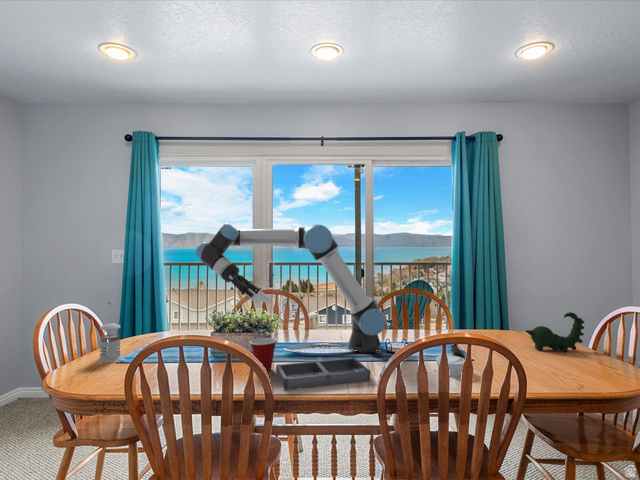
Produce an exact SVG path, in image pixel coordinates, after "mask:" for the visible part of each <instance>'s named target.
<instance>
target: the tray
mask: <svg viewBox="0 0 640 480" xmlns="http://www.w3.org/2000/svg"><path fill="white" fill-rule="evenodd" d="M275 366H276V368H275V369H276V370H275V372H276V376H277V378H278V380H279V382H281V383H280V384H282V385H281V387H282V386H283V387H282V389H283V388H284V389H283V390H284V391H289V390H288V389H293V390H298V389H297V388H302V389H311V388H318V387H320V386H321V387H329V386H336V385H337V386H339V385H346V384H355V383H356V384H357V383H364V382H365V383H366V382H367V383H368V382H371V370H370V369H368V367H366V366H365V365H364V364H362V363H361V361H359V360H358V359H357V358H356V357H348V358H337V359H335V358H334V359H326V360H325V359H324V360H316V361H314V360H313V361H302V362H301V361H300V362H293V363H292V362H291V363H290V362H289V363H281V364H280V363H279V364H276V365H275ZM321 387H320V388H321Z"/></svg>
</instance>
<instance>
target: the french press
mask: <svg viewBox="0 0 640 480" xmlns="http://www.w3.org/2000/svg"><path fill="white" fill-rule="evenodd" d="M112 304H113V301H111V300H110V301H107V305H112ZM120 328H121V325H120V324H117V323H114V322H108V323H105V324H103V325H101V326H100V327H99V330H101V331H104V332H103V335H102V336H101V337H100V338H101V340H99V347H100V348H99V355H100V357H99V358H98V359H97V362H99V363H113V362H116V361H120V360H122V359H123V358H124V357H123V355H121V338H119V337H120V335H119V334H117V333H116V334H115V333H113V334H111V333H110V332H111V331H113V330H118V329H120ZM106 333H107V334H106ZM105 334H106V335H105Z"/></svg>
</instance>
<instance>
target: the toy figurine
mask: <svg viewBox="0 0 640 480" xmlns="http://www.w3.org/2000/svg"><path fill="white" fill-rule="evenodd" d="M567 317H570V318H571V319H573V323H572V328H571V329H570V333H569V334H568V335H567V336H562V335H559V334H557V333H554V332H553V331H552V329H551V328H549V327H547V326H544V325H540V326H536V327H535V328H533V329H529V330H525V333H527V334H528V335H529V336H530V337H531V341H532V342H533V343H534V348H535V349H536V350H537V351H542V350H543V349H544V348H546V347H547V348H549V349H551V350H552V351H554V352H558V350H560V351H562V352H563V353H567V352H568V351H569V350H568V349H571V350H573V351H575V350H577V346H576V343H577V344H578V343H579V344H582V343H583V341H584V340H583V339H580V337H581V336H583V337H584V335H585V333H584V332H582V330H584V329H585V326H584V325H583V324H585V320H583V319H582V317H578V315H577V314H576V313H574V312H566V313H565V314H564V315H563V318H567Z"/></svg>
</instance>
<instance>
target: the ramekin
mask: <svg viewBox="0 0 640 480" xmlns="http://www.w3.org/2000/svg"><path fill="white" fill-rule="evenodd" d="M446 355H447V358H448V364H449V369H450V376H449V377H460V376H462V375H461V372H462V367H463V364H464V361H465V360H466V359H465V358H464V357H463V358H461V357H458V356H453V354H452V355H449V354H446ZM441 356H442V355H438V356H436V357H435V362H436V365H437V368H438V366H439V362H440V358H441Z"/></svg>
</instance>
